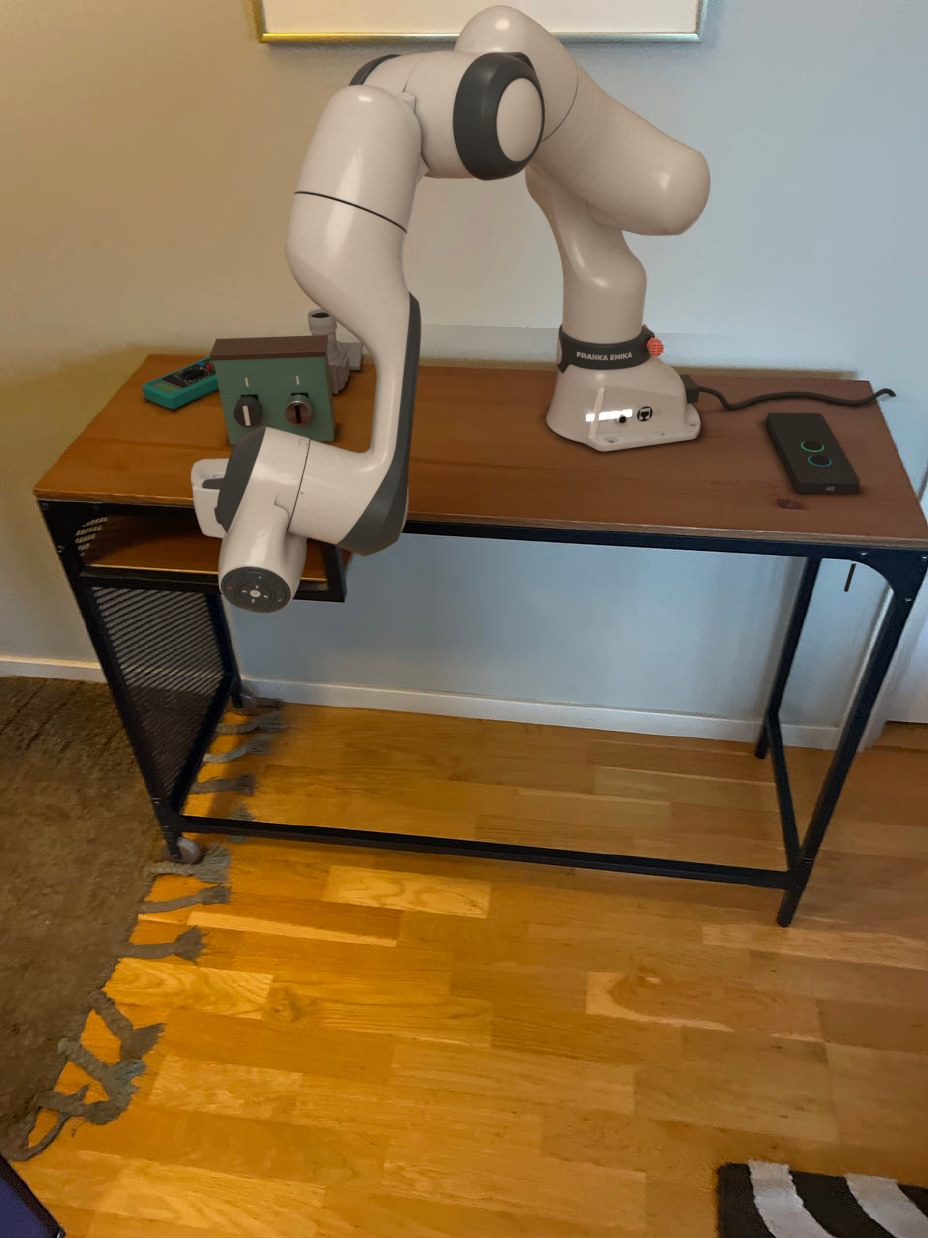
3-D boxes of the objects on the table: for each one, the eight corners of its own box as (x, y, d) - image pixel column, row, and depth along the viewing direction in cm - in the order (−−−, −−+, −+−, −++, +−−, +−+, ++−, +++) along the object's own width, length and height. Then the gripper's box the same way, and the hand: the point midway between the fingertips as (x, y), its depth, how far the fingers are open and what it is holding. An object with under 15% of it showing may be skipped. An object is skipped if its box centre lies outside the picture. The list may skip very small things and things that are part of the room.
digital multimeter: (245, 379, 149) (242, 362, 147) (172, 413, 140) (168, 395, 138) (216, 368, 153) (212, 351, 151) (143, 400, 144) (138, 383, 142)
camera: (289, 321, 137) (305, 288, 149) (299, 394, 144) (313, 357, 156) (347, 320, 137) (358, 287, 149) (354, 394, 144) (364, 357, 156)
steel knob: (312, 425, 126) (309, 401, 124) (286, 426, 126) (282, 402, 124) (315, 407, 130) (312, 384, 128) (290, 408, 130) (286, 385, 128)
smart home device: (798, 482, 118) (765, 411, 134) (795, 493, 119) (762, 422, 135) (863, 482, 118) (822, 411, 133) (859, 494, 119) (819, 422, 134)
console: (335, 442, 132) (325, 350, 123) (227, 446, 132) (209, 354, 123) (338, 424, 136) (327, 334, 128) (233, 428, 136) (215, 338, 127)
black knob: (261, 427, 126) (257, 403, 124) (235, 428, 126) (231, 404, 123) (266, 409, 130) (262, 385, 128) (241, 410, 130) (236, 386, 128)
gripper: (362, 481, 101) (366, 423, 112) (177, 487, 101) (199, 429, 111) (367, 528, 105) (370, 468, 116) (188, 535, 105) (208, 474, 115)
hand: (285, 449), depth 114 cm, fingers closed
